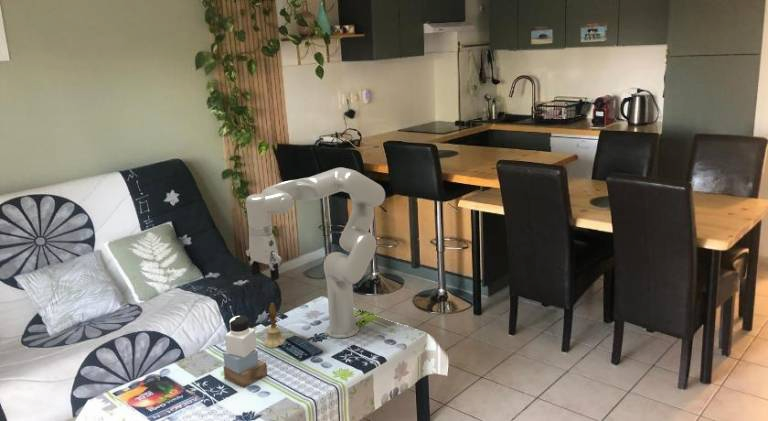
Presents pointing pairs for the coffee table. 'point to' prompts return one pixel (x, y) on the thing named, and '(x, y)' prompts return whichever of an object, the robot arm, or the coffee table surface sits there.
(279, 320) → the coffee table surface
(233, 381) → the block base
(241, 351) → the medicine bottle
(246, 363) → the block top
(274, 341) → the hand bell
